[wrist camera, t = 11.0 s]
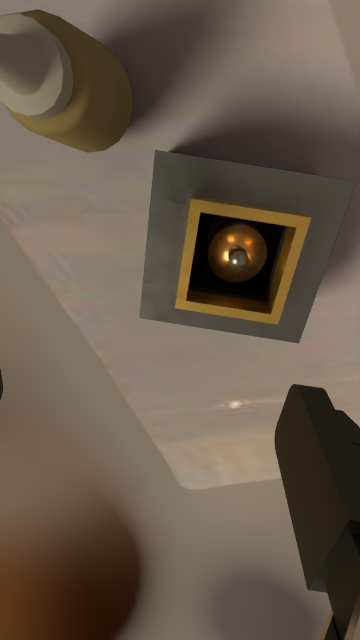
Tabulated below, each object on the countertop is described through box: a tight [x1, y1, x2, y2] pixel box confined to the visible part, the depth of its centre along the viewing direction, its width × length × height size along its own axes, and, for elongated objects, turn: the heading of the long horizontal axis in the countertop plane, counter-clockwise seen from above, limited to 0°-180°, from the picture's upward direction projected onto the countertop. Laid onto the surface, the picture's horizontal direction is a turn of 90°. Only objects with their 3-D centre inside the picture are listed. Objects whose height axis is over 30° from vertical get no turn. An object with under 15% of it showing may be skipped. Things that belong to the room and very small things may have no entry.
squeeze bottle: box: [0, 10, 133, 152], centre depth 23 cm, size 8×8×18 cm
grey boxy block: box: [140, 150, 356, 343], centre depth 30 cm, size 14×15×12 cm
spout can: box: [208, 215, 267, 282], centre depth 31 cm, size 5×5×10 cm
